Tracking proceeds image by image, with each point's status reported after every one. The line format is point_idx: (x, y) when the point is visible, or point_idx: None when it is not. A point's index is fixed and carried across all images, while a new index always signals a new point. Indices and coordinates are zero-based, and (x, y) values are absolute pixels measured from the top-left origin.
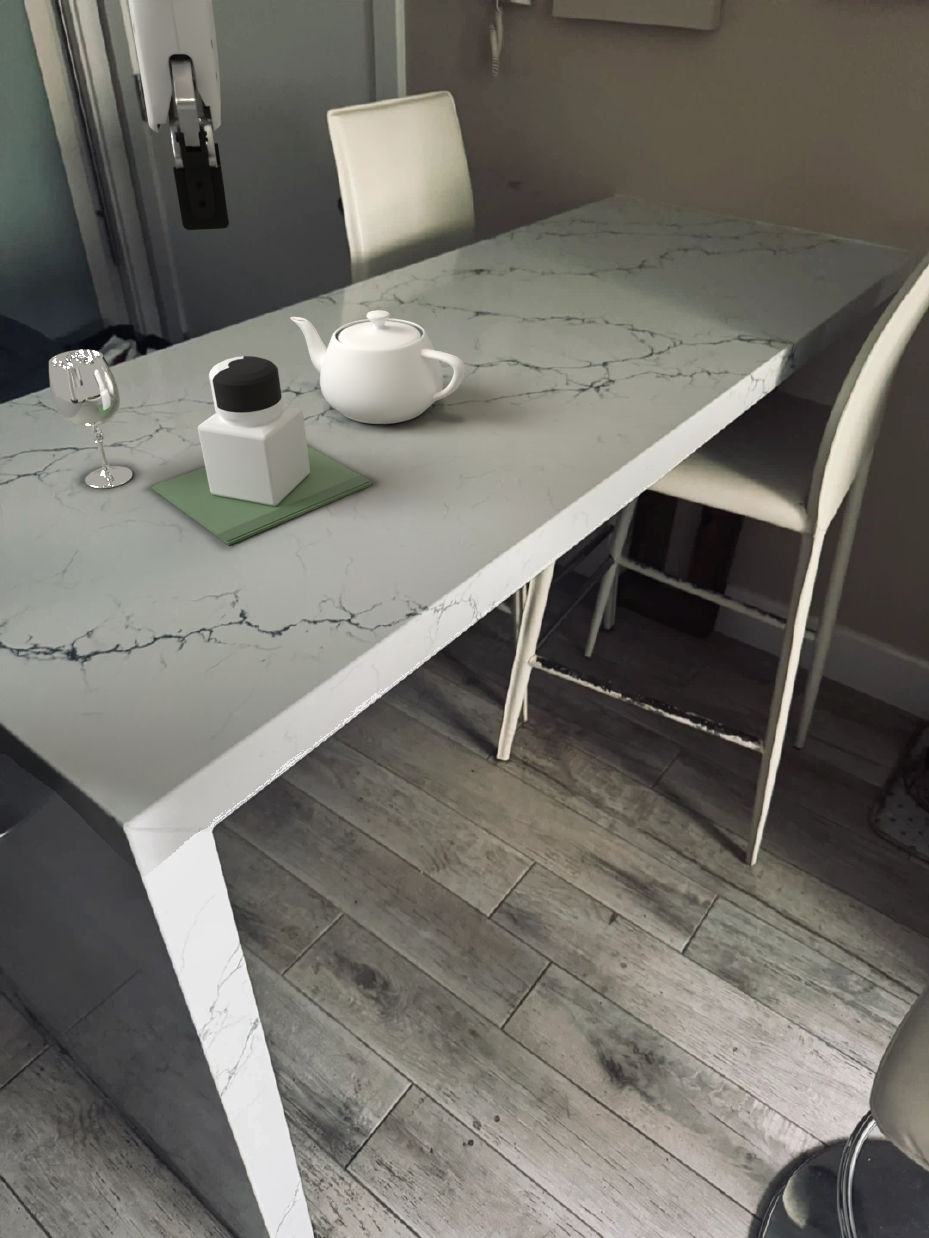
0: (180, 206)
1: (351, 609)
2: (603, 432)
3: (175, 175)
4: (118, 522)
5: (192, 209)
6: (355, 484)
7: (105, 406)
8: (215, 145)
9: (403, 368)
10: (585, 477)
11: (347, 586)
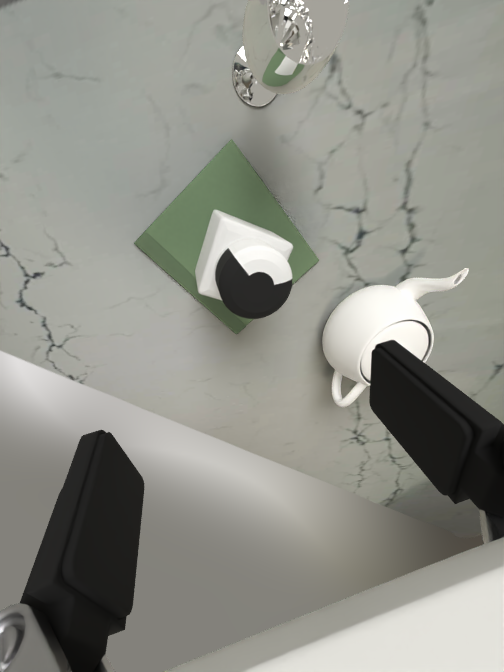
0: (66, 478)
1: (67, 344)
2: (297, 444)
3: (39, 564)
4: (163, 116)
5: (58, 499)
6: (231, 324)
7: (258, 79)
8: (452, 497)
9: (344, 369)
10: (243, 441)
11: (95, 337)
